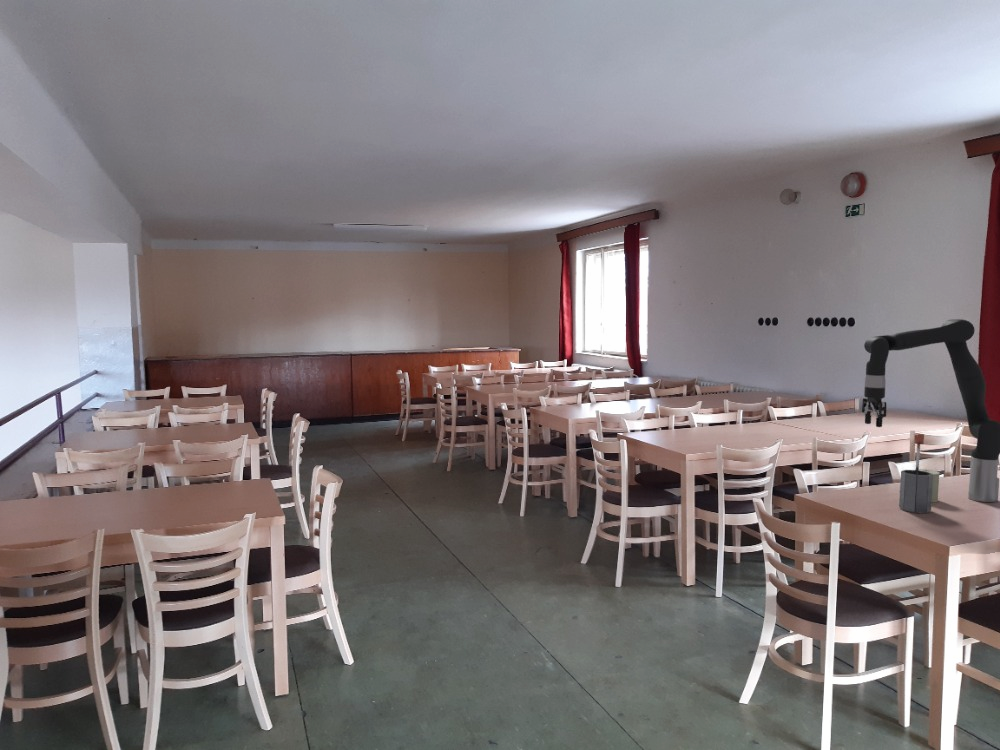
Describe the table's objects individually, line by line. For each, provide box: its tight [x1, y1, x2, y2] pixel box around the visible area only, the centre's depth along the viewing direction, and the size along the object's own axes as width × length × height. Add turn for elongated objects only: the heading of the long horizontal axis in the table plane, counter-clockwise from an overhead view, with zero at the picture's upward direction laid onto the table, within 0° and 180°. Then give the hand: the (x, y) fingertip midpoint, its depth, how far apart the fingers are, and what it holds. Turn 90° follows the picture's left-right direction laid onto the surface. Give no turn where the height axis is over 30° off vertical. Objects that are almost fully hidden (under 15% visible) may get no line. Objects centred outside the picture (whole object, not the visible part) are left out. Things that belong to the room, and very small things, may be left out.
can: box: [919, 468, 940, 503], centre depth 293 cm, size 9×9×12 cm
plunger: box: [913, 433, 925, 475], centre depth 276 cm, size 7×7×20 cm
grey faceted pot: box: [898, 469, 933, 514], centre depth 279 cm, size 10×12×14 cm
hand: (873, 425), depth 295 cm, fingers open, 8 cm apart
